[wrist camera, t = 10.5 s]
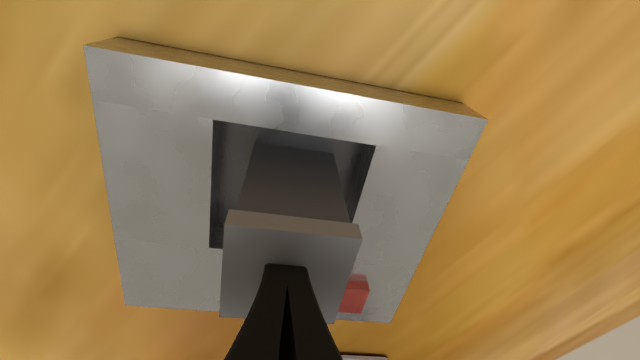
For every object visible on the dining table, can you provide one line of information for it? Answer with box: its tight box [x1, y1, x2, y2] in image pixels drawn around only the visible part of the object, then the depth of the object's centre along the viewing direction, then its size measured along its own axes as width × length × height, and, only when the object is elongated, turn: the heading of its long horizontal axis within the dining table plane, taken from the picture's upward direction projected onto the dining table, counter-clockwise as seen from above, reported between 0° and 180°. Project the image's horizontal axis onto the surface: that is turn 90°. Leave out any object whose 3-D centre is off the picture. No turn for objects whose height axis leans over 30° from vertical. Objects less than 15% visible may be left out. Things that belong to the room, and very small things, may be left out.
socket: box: [83, 37, 488, 323], centre depth 17 cm, size 14×16×3 cm
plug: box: [219, 142, 362, 324], centre depth 14 cm, size 4×4×7 cm
